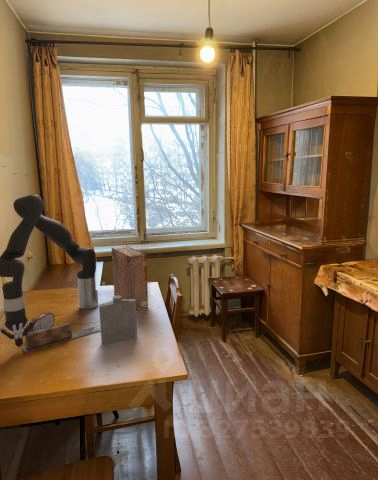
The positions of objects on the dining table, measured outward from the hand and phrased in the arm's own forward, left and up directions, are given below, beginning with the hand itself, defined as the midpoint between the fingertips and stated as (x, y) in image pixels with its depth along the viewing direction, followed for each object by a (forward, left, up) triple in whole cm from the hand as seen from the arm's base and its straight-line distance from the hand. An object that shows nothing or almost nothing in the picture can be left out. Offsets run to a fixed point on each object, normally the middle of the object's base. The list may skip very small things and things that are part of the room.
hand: (19, 345), depth 148 cm
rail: (-19, 0, -2) cm, 19 cm away
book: (-62, -22, -3) cm, 66 cm away
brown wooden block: (-12, 0, -2) cm, 13 cm away
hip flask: (-38, +15, -3) cm, 41 cm away
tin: (-12, -13, -3) cm, 18 cm away
